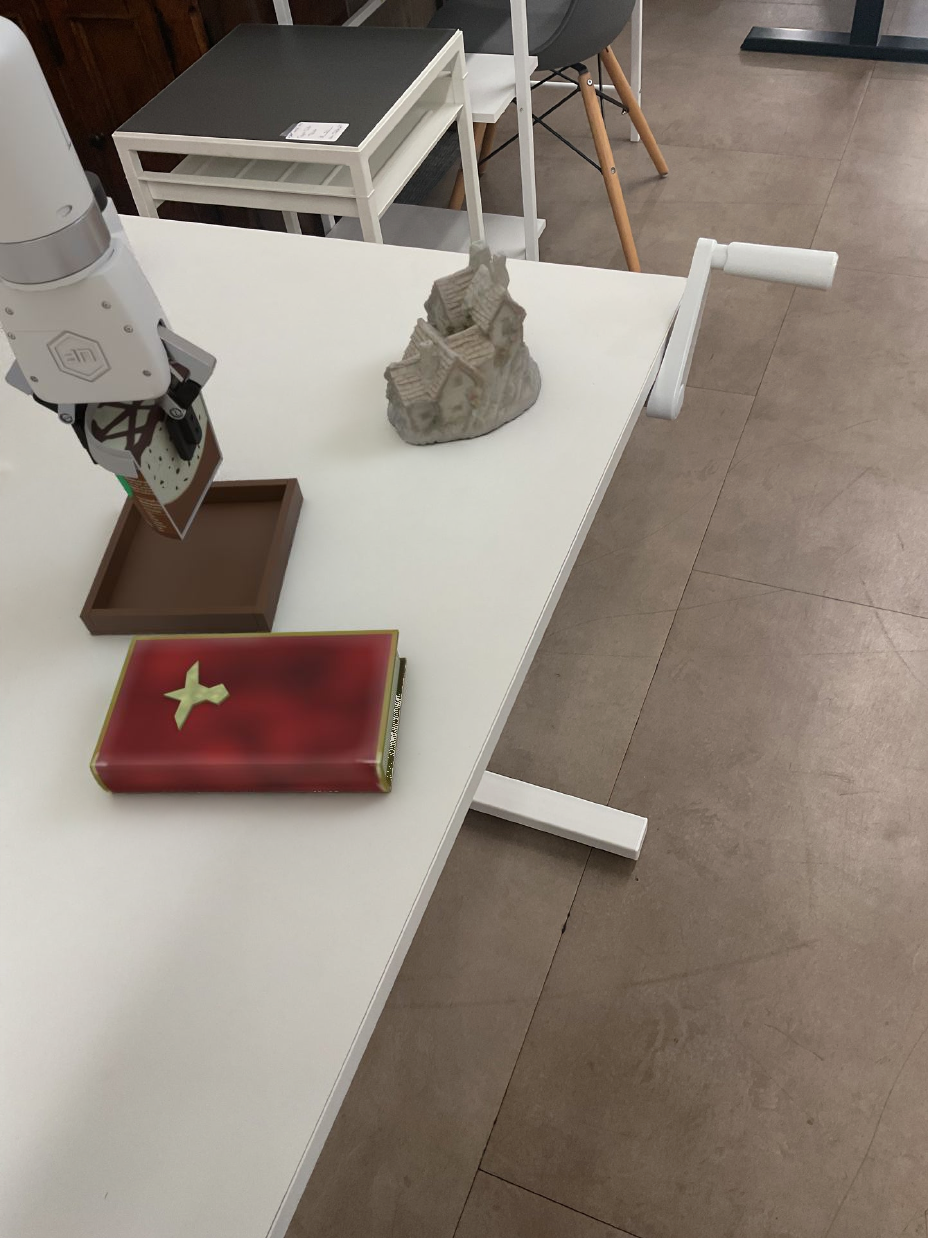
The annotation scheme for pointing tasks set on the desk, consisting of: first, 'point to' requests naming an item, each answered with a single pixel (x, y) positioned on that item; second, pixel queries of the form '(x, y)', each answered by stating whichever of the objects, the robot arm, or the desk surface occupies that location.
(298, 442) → the desk surface
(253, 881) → the desk surface
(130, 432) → the food container
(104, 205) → the jar
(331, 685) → the hardcover book
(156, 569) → the tray
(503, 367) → the ceramic cottage
